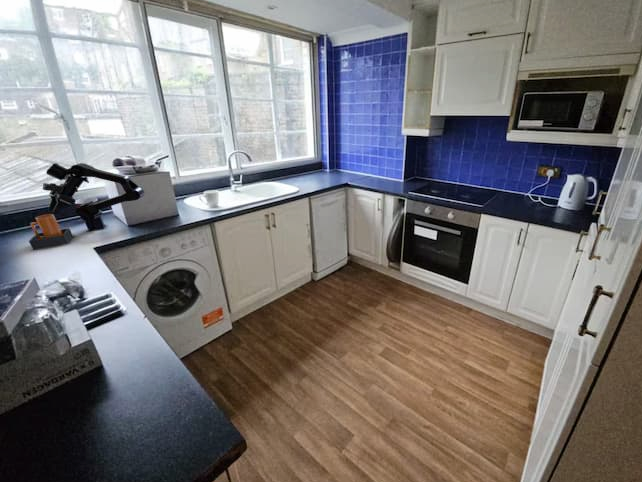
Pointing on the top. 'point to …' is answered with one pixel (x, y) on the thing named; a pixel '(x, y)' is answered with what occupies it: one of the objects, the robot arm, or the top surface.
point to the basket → (51, 240)
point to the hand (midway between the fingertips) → (51, 211)
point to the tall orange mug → (47, 226)
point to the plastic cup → (85, 201)
